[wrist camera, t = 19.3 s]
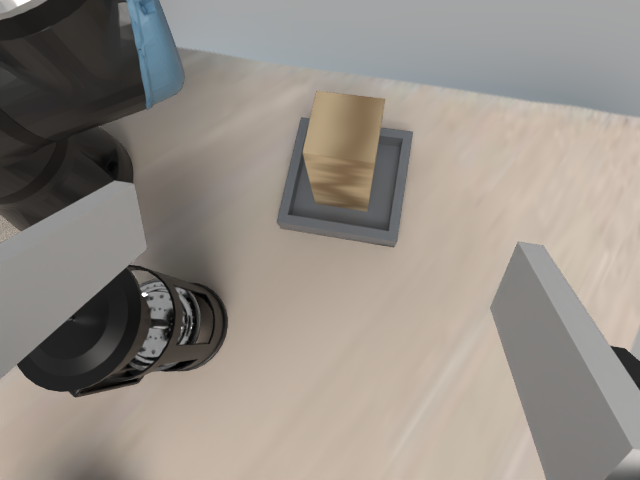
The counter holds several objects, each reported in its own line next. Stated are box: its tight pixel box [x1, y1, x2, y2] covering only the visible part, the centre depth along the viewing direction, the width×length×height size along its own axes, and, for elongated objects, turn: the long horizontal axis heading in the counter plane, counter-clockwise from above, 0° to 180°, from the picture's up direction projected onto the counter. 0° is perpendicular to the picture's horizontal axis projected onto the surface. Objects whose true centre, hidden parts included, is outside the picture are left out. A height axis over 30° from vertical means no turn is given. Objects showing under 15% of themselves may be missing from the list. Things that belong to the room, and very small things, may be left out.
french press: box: [17, 265, 227, 397], centre depth 29 cm, size 12×9×23 cm
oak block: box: [303, 91, 385, 211], centre depth 36 cm, size 6×6×12 cm
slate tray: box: [277, 118, 413, 247], centre depth 42 cm, size 13×13×2 cm
